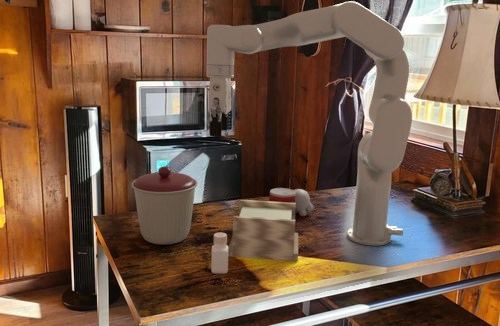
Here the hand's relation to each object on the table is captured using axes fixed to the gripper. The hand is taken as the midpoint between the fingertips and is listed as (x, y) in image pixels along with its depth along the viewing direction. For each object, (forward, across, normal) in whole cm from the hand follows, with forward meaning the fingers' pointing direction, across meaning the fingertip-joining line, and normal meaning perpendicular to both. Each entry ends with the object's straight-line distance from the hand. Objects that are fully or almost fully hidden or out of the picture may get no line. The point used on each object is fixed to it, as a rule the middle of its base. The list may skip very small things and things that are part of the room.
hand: (218, 133), depth 139 cm
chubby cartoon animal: (+30, +20, -22) cm, 42 cm away
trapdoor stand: (+30, -8, -15) cm, 34 cm away
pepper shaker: (+30, -25, -5) cm, 39 cm away
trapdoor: (+22, -8, -15) cm, 28 cm away
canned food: (+30, +10, -19) cm, 37 cm away
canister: (+30, -7, +14) cm, 34 cm away
